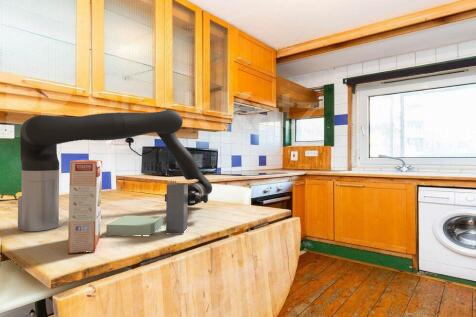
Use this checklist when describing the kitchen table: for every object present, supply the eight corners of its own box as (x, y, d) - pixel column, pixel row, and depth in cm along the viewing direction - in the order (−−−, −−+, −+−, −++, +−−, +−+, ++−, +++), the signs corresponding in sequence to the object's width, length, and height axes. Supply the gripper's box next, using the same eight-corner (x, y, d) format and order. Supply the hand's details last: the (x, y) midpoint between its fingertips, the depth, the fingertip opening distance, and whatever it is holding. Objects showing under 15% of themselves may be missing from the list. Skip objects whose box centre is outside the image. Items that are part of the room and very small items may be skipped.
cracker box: (97, 252, 66) (98, 160, 65) (66, 255, 63) (67, 160, 63) (102, 235, 79) (103, 159, 78) (77, 237, 76) (78, 159, 76)
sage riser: (106, 235, 79) (106, 224, 79) (125, 225, 91) (125, 215, 91) (149, 236, 79) (149, 225, 79) (162, 225, 91) (162, 216, 91)
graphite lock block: (166, 233, 82) (166, 184, 82) (170, 229, 87) (171, 182, 87) (183, 234, 82) (184, 184, 82) (187, 229, 87) (187, 183, 87)
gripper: (173, 183, 108) (160, 188, 92) (211, 184, 107) (205, 189, 91) (173, 203, 108) (160, 211, 92) (211, 204, 107) (204, 213, 91)
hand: (182, 200), depth 92 cm, fingers open, 8 cm apart
